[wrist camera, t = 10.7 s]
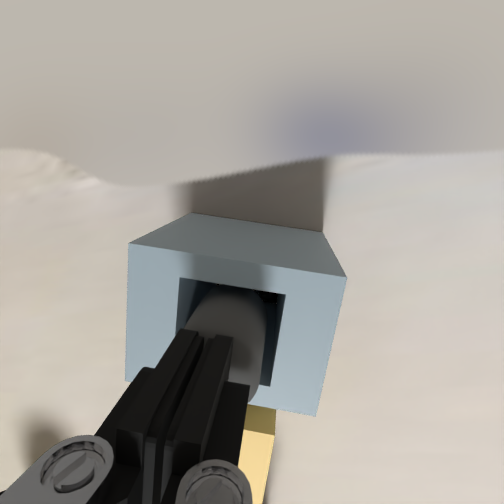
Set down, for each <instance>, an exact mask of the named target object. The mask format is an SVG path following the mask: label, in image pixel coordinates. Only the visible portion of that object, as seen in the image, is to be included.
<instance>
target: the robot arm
mask: <svg viewBox="0 0 504 504" xmlns="http://www.w3.org/2000/svg"><path fill="white" fill-rule="evenodd" d="M233 340H234V337H230V336H224V335H218V334H216V336H215V338H214V339H213V338H208V340H207V343H206V345H205V347H204V349H203V345H204V337H201V336H199V333H198V331H194V330H188V329H182V328H180V330H179V331H178V333H177V334H176V336H175V337H174V339H173V340H172V342H171V343H170V345H169V347H168V348H167V350H166V351H165V353H164V354H163V356H162V358H161V359H160V361H159V362H158V364H157V365H156V367H155V368H150V367H143V368H142V369H141V370H140V371H139V372H138V374H137V375H136V377H135V378H134V380H133V381H132V382H131V384H130V385H129V387H128V388H127V389H126V391H125V392H124V394H123V395H122V397H121V398H120V399H119V401H118V402H117V404H116V405H115V407H114V408H113V409H112V411H111V412H110V414H109V415H108V416H107V418H106V419H105V421H104V422H103V424H102V425H101V426H100V428H99V429H98V431H97V432H96V433H95V435H94V436H93V435H81V436H75V437H72V438H69V439H66V440H64V441H62V442H60V443H58V444H56V445H54V446H53V447H52V448H50V449H49V450H48V451H46V452H45V453H44V454H43V455H42V456H41V457H40V458H39V459H38V460H37V461H36V462H35V463H34V464H33V465H32V466H30V467H29V468H28V469H27V470H26V471H25V472H24V473H23V474H22V475H21V476H20V477H19V478H18V479H17V480H16V481H15V482H14V483H13V484H12V485H11V486H10V487H9V488H8V489H7V490H5V491H2V492H0V504H253V501H252V491H251V487H250V483H249V481H248V479H247V477H246V476H245V474H244V473H243V472H242V471H241V470H240V469H239V468H238V463H239V457H240V450H241V444H242V437H243V431H244V424H245V417H246V411H247V404H248V398H249V391H250V385H246V384H241V383H235V382H229V381H228V379H229V371H230V363H231V356H232V348H233Z"/></svg>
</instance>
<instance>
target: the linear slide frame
mask: <svg viewBox="0 0 504 504" xmlns="http://www.w3.org/2000/svg"><path fill="white" fill-rule="evenodd" d="M346 280H347V276H346V275H345V273H344V271H343V269H342V267H341V265H340V263H339V262H338V260H337V258H336V256H335V254H334V252H333V251H332V249H331V247H330V245H329V243H328V241H327V239H326V238H325V236H324V234H323V232H317V231H310V230H304V229H297V228H290V227H283V226H277V225H270V224H263V223H257V222H250V221H243V220H236V219H230V218H223V217H216V216H210V215H203V214H196V213H190V214H188V215H185V216H183V217H181V218H179V219H177V220H175V221H173V222H171V223H169V224H167V225H165V226H163V227H161V228H159V229H157V230H155V231H153V232H150V233H148V234H146V235H144V236H142V237H140V238H138V239H136V240H134V241H132V242H130V243H129V245H128V282H127V320H126V358H125V381H128V382H132V381H133V380H134V378H135V377H136V375H137V374H138V372H139V371H140V370H141V369H142V368H143V367H150V368H155V367H156V365H157V364H158V362H159V361H160V359H161V358H162V356H163V354H164V353H165V351H166V350H167V348H168V347H169V345H170V343H171V342H172V340H173V339H174V337H175V336H176V334H177V333H178V331H179V330H180V328H182V329H183V328H184V327H185V325H186V324H187V322H188V321H189V319H190V317H191V316H192V314H193V313H194V311H195V310H196V308H197V306H198V305H199V303H200V302H201V300H202V299H203V297H204V296H205V294H206V293H207V292H208V291H210V290H211V289H212V288H214V287H216V283H219V284H225V285H231V286H237V287H243V288H249V289H256V290H262V291H268V292H274V293H278V297H277V304H275V303H269V302H264V304H265V307H266V310H267V317H268V318H267V327H266V335H265V343H264V351H263V358H262V366H261V374H260V382H259V386H258V389H257V392H256V394H255V395H254V397H253V398H252V400H251V401H250V402H249V403H248V404H251V405H256V406H261V407H267V408H272V409H277V410H283V411H288V412H293V413H299V414H304V415H309V416H315V417H316V413H317V409H318V405H319V400H320V396H321V391H322V387H323V382H324V378H325V374H326V369H327V365H328V360H329V356H330V351H331V347H332V342H333V338H334V334H335V329H336V325H337V320H338V316H339V311H340V307H341V303H342V298H343V294H344V289H345V285H346Z"/></svg>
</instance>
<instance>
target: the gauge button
mask: <svg viewBox="0 0 504 504" xmlns="http://www.w3.org/2000/svg"><path fill="white" fill-rule="evenodd" d="M267 318H268V317H267V310H266V307H265V304H264V302H263V300H262V299H261V298H260V296H259V295H258V294H257V293H256V292H254V291H253V290H252V289H249V288H243V287H237V286H231V285H225V284H221V285H218V286H216V287H214V288H212V289H211V290H210V291H208V292H207V293H206V294H205V296H204V297H203V299H202V300H201V302H200V303H199V305H198V306H197V308H196V310H195V311H194V313H193V314H192V316H191V317H190V319H189V321H188V322H187V324H186V325H185V327H184V328H183V329H188V330H194V331H198V333H199V336H201V337H204V345H203V349H204V347H205V345H206V343H207V340H208V338H213V339H214V338H215V336H216V334H218V335H224V336H230V337H234V340H233V348H232V356H231V363H230V371H229V379H228V381H229V382H235V383H241V384H246V385H250V391H249V398H248V403H249V402H250V401H251V400H252V398H253V397H254V395H255V394H256V392H257V389H258V386H259V382H260V374H261V366H262V358H263V351H264V343H265V335H266V327H267Z"/></svg>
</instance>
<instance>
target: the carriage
mask: <svg viewBox="0 0 504 504" xmlns="http://www.w3.org/2000/svg"><path fill="white" fill-rule="evenodd" d="M275 420H276V409H272V408H267V407H261V406H256V405H251V404H247V411H246V417H245V424H244V431H243V437H242V444H241V450H240V457H239V463H238V468H239V469H240V470H241V471H242V472H243V473H244V474H245V476H246V477H247V479H248V481H249V483H250V487H251V491H252V501H253V504H262V501H263V496H264V491H265V485H266V480H267V475H268V469H269V464H270V459H271V453H272V448H273V443H274V437H275Z"/></svg>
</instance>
